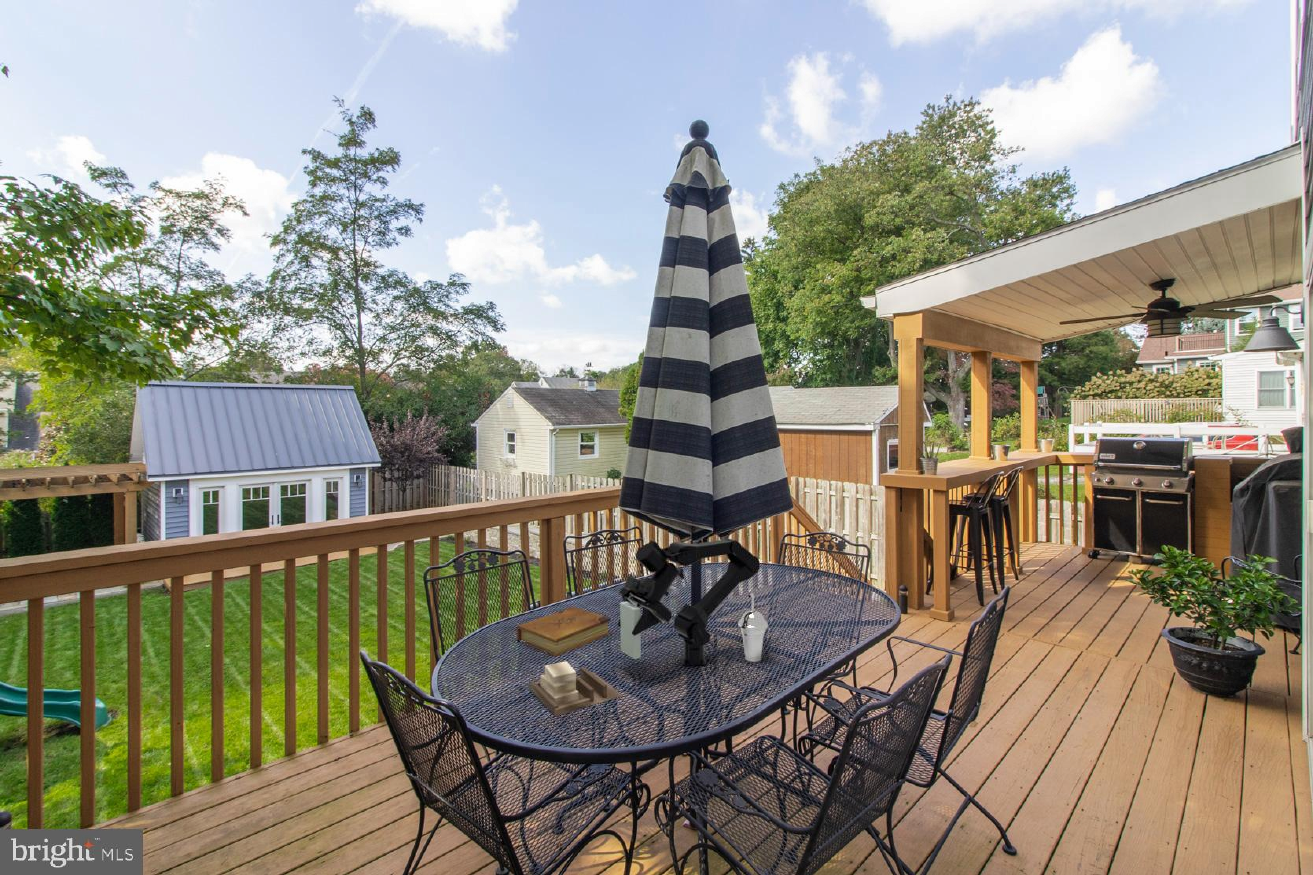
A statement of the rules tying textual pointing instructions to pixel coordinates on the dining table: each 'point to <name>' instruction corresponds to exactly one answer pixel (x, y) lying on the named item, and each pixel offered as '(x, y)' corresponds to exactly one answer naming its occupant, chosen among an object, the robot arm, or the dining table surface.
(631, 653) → the sage panel
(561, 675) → the offcut stack
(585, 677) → the tray
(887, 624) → the dining table surface
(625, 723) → the dining table surface
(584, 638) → the diary
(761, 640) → the cup with straw
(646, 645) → the dining table surface
